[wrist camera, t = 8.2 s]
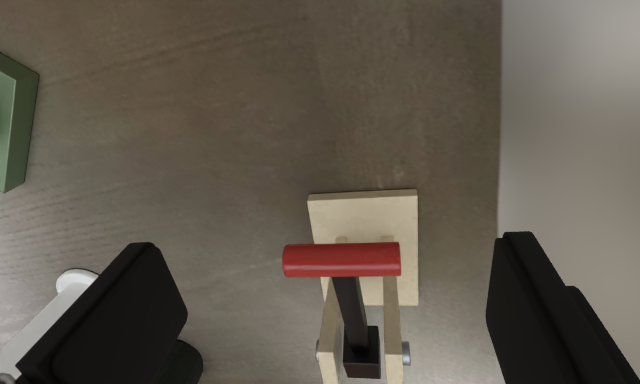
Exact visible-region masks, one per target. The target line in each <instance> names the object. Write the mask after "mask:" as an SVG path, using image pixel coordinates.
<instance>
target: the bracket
mask: <svg viewBox="0 0 640 384" xmlns="http://www.w3.org/2000/svg"><path fill="white" fill-rule="evenodd" d="M307 204H308V210H309V215H310V221H311V227H312V233H313V238H314V244H332V243H371V242H399V244H400V255H401V276H383V277H359V280H360V286H361V291H362V297H363V303H364V305H384V343H385V364H386V378H387V384H404V381H403V365H408V366H410V348H409V342H405V341H401V328H400V314H399V305H418V196H417V191H416V189H402V190H383V191H364V192H345V193H325V194H309V197H308V200H307ZM320 279H321V285H322V290H323V296H324V302H325V307H324V313H323V319H322V325H321V331H320V338H319V340H317V343H316V360H317V362H319V364H320V369H321V374H322V379H323V383H324V384H342V378H343V367H344V365H343V342H344V326H345V325H344V321H343V318H342V314H341V311H340V307H339V304H338V300H337V297H336V293H335V290H334V286H333V283H332V279H331V277H320Z"/></svg>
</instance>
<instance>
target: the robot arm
mask: <svg viewBox="0 0 640 384" xmlns="http://www.w3.org/2000/svg"><path fill="white" fill-rule="evenodd" d="M187 316H188V312H187V308H186V306H185V304H184V302H183V299H182V297H181V295H180V293H179V291H178V288H177V286H176V284H175V282H174V280H173V277H172V275H171V273H170V271H169V269H168V266H167V264H166V262H165V260H164V258H163V255H162V253H161V251H160V249H159V248H157V247H155V245H154V244H153V243H150V242H141V243H130V244H129V245H128V246H127V247H126V248H125V249H124V250H123V251H122V252H121V253H120V254H119V255H118V256H117V257H116V258H115V259H114V260H113V261H112V262H111V264H110V265H109V266H108V267H107V268H106V269H105V270H104V271H103V272H102V273H101V274H100V275H99V276H98V277H97V278H96V279H95V281H94V282H93V283H92V284H91V285H90V286H89V287H88V288H87V289H86V290H85V291H84V292H83V293H82V294H81V295H80V296H79V298H78V299H77V300H76V301H75V302H74V303H73V304H72V305H71V306H70V307H69V308H68V309H67V310H66V311H65V312H64V313H63V315H62V316H61V317H60V318H59V319H58V320H57V321H56V322H55V323H54V324H53V325H52V326H51V327H50V328H49V329H48V330H47V332H46V333H45V334H44V335H43V336H42V337H41V338H40V339H39V340H38V341H37V342H36V343H35V344H34V345H33V346H32V348H31V349H30V350H29V351H28V352H27V353H26V354H25V355H24V356H23V357H22V358H21V359H20V360H19V361H18V362H17V363H16V365H15V367H16V368H17V369H18V370H19V371H20V372H21V373H22V374H21V375H20V376H19V377H18V378H17V379H15V378H14V377H13V376H12V375H11V374H7V373H0V384H152V382H153V380H154V379H155V377H156V375H157V373H158V371H159V370H160V368H161V366H162V364H163V362H164V361H165V359H166V357H167V355H168V353H169V352H170V350H171V348H172V346H173V345H174V343H175V341H176V339H177V337H178V336H179V334H180V332H181V330H182V328H183V327H184V325H185V323H186V321H187ZM486 323H487V327H488V331H489V334H490V337H491V340H492V343H493V346H494V349H495V352H496V355H497V358H498V361H499V364H500V368H501V370H502V374H503V377H504V380H505V383H506V384H640V380H639V378H638V377H637V375H636V374H635V372H634V371H633V369H632V368H631V366H630V365H629V363H628V361H627V360H626V358H625V357H624V355H623V354H622V353H621V351H620V349H619V348H618V347H617V345H616V344H615V342H614V340H613V339H612V337H611V336H610V334H609V333H608V331H607V330H606V328H605V327H604V325H603V324H602V322H601V321H600V319H599V318H598V316H597V315H596V313H595V312H594V310H593V309H592V307H591V306H590V304H589V303H588V301H587V300H586V298H585V297H584V295H583V294H582V293H581V292H580V290H579V289H578V288H576V287H575V286H565V284H564V283H563V281H562V279H561V278H560V276H559V275H558V273H557V271H556V270H555V268H554V267H553V265H552V263H551V262H550V260H549V259H548V257H547V255H546V254H545V252H544V251H543V249H542V247H541V246H540V244H539V243H538V241H537V239H536V238H535V236H534V235H533V233H532V232H529V231H528V232H526V231H525V232H505V233H504V234H503V238H497V239H496V240H495V245H494V252H493V260H492V268H491V276H490V283H489V291H488V299H487V307H486Z"/></svg>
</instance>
